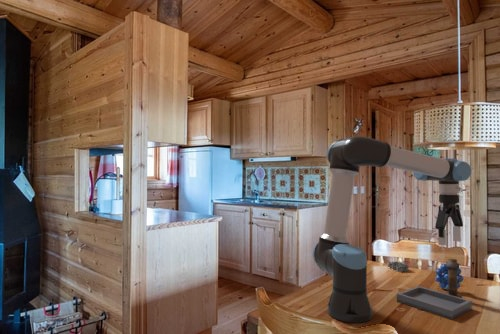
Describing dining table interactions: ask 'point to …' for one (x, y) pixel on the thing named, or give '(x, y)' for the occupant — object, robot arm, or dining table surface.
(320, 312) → the dining table surface
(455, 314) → the holder tray
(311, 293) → the dining table surface
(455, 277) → the post
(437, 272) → the grapes
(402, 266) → the egg carton
